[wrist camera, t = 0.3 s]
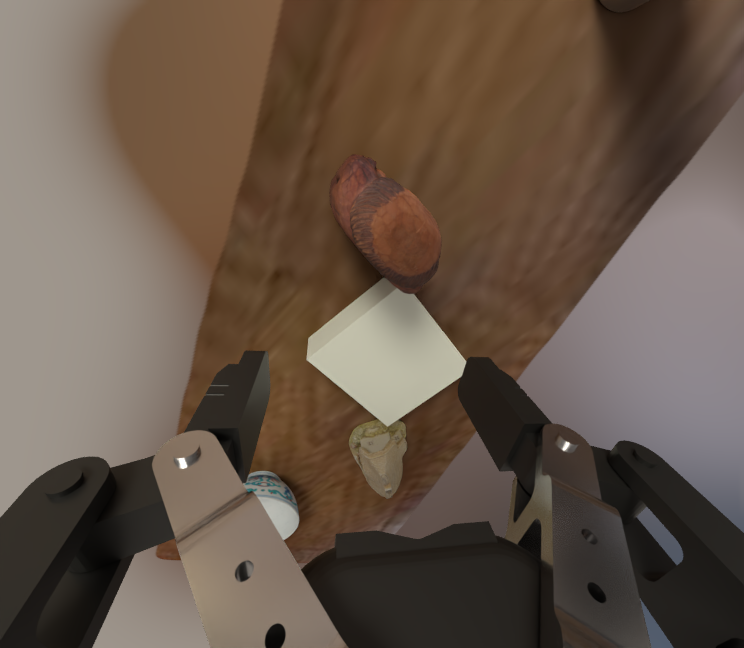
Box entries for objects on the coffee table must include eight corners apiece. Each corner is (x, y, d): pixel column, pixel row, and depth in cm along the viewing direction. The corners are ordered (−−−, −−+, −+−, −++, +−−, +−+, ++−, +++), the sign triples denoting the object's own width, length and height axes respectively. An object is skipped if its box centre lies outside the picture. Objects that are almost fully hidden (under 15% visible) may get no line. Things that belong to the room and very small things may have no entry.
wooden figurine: (416, 228, 36) (488, 269, 21) (380, 262, 38) (420, 324, 22) (355, 147, 31) (387, 119, 15) (315, 190, 33) (307, 203, 17)
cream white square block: (393, 267, 39) (404, 282, 34) (455, 347, 47) (472, 369, 42) (308, 336, 42) (306, 359, 36) (380, 400, 50) (387, 426, 45)
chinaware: (275, 512, 59) (269, 555, 53) (205, 492, 53) (188, 538, 47) (317, 471, 56) (316, 512, 49) (246, 445, 49) (234, 487, 43)
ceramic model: (343, 423, 51) (347, 474, 42) (403, 410, 52) (419, 458, 43) (356, 470, 58) (361, 523, 49) (408, 458, 58) (424, 508, 50)
